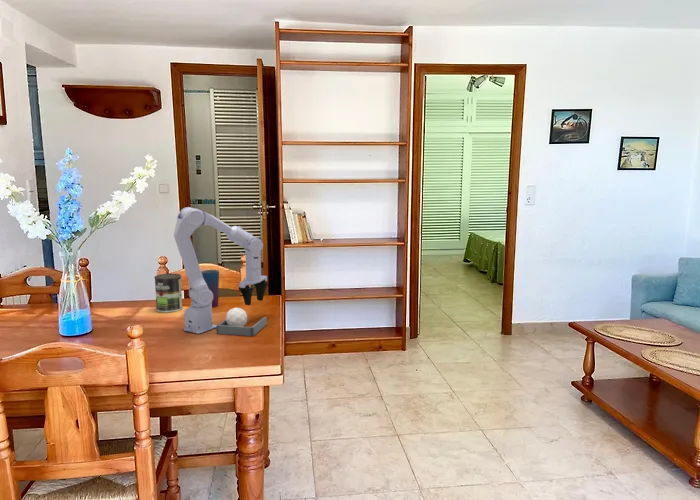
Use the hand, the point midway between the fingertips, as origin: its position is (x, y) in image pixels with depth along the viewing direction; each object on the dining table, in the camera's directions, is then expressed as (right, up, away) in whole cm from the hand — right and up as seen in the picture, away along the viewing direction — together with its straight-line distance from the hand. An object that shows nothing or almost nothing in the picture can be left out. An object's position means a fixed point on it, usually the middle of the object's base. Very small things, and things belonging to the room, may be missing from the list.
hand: (254, 302), depth 193 cm
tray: (-2, -9, -11) cm, 14 cm away
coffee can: (-38, -5, +15) cm, 41 cm away
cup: (-22, -4, +21) cm, 30 cm away
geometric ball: (-4, -9, -9) cm, 14 cm away
